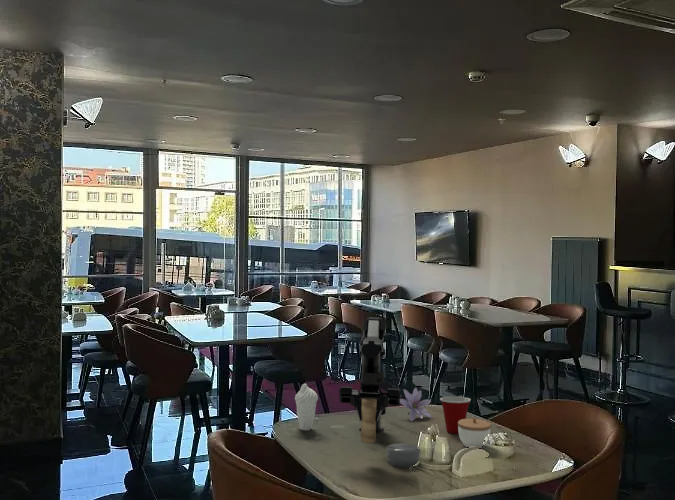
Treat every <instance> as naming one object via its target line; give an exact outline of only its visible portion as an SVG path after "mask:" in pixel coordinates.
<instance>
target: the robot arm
mask: <svg viewBox="0 0 675 500" xmlns="http://www.w3.org/2000/svg"><path fill="white" fill-rule="evenodd" d="M362 334H364V339H363V340H362V345H361V344H360V347H359V357H361V363H362V365H361V366H362V367H361V379H360V390H358V389H357V390H356V389H355V390H354V389H353V386H343V385H342V386H341V387H339V392H338V394H339V395H338V397H339V403H341V404H350V406H353V407H354V408H355V411H356V413H357V416H358V419H359V421H360V422H361V411H362V399H364V398H373V399H376V400H377V404H376V433H379V432H382V431H384V430H385V429H384V428H383V427H381V415H382V416H383V415H386V413H387V412H386V411H387V409H386V408H388V407H389V406H400V405H401V403H400V399H401V390H400V389H399V388H387V389H386V390H387V392H383V391H382V390H381V388H380V384H384V382H385V372H384V371H381V360H382V358H384V357H385V356H386V349H385V347H384V345H383V341H384V340H385V339H384V337H385V335H386V334H387V322H386V321H384V320H382V318H381V317H370V316H369V317H367V319H365V320H363V322H362ZM358 430H359V431H361V427H359V429H358Z"/></svg>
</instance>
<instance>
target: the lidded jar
mask: <svg viewBox="0 0 675 500" xmlns="http://www.w3.org/2000/svg"><path fill="white" fill-rule="evenodd" d="M491 429H492V425H491V423H490V422H489V421H487V420H484V419H479V418H476V417H472V418H466V419H462V420H459V421H458V433H459V434H458V437H459V439H460V442H461V443H462V444H463V445H464V447H465V448H467V447H469V446H476V447H482V446H483V442H484V439H485V437H486V436H487V435H488V434H490V435H491ZM483 447H484V446H483Z"/></svg>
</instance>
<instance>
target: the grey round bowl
mask: <svg viewBox="0 0 675 500" xmlns="http://www.w3.org/2000/svg"><path fill="white" fill-rule="evenodd" d="M418 448H419V447H418V446H417V445H415V444H410V443H401V442H400V443H391V444H389V445H387V447H386V463H387V464H388V465H391V466H394V467H397V468H412V467H411V466H413V465H415V464H416V463H417V462H418V461H419V457H420V453H421V452H420V451H421V449H420V448H419V449H418ZM420 458H421V457H420Z"/></svg>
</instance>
